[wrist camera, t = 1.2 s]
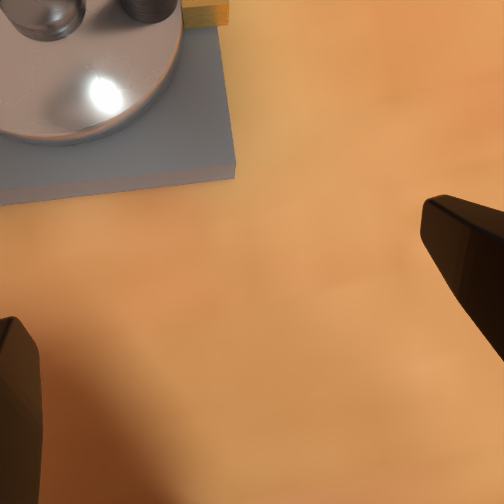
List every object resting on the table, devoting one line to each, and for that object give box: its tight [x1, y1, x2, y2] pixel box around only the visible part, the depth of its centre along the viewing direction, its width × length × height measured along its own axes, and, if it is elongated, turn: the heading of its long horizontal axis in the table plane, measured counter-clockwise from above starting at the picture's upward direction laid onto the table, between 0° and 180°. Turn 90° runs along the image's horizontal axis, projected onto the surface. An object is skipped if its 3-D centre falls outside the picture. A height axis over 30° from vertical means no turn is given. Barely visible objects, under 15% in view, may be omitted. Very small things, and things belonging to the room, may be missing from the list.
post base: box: [0, 22, 236, 206], centre depth 20 cm, size 14×14×6 cm
